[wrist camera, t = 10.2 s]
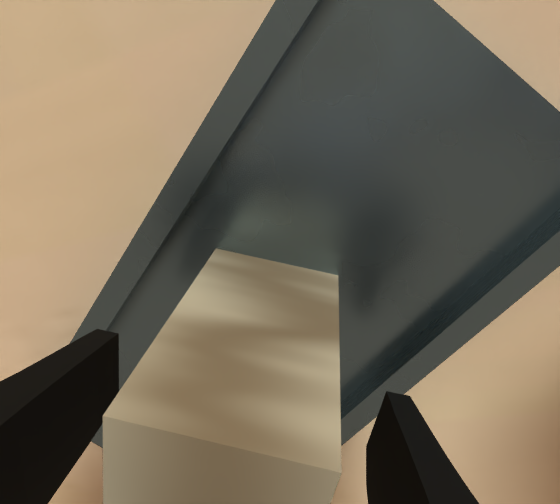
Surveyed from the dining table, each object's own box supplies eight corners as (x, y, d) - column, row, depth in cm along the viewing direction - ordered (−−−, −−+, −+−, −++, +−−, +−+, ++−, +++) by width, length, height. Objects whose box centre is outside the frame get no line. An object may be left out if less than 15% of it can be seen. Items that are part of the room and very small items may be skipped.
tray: (607, 168, 12) (656, 185, 10) (236, 497, 20) (226, 540, 18) (335, -69, 10) (335, -100, 9) (53, 388, 18) (21, 423, 16)
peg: (338, 275, 13) (341, 472, 7) (311, 372, 15) (293, 605, 8) (216, 248, 13) (102, 415, 7) (203, 347, 15) (102, 556, 8)
